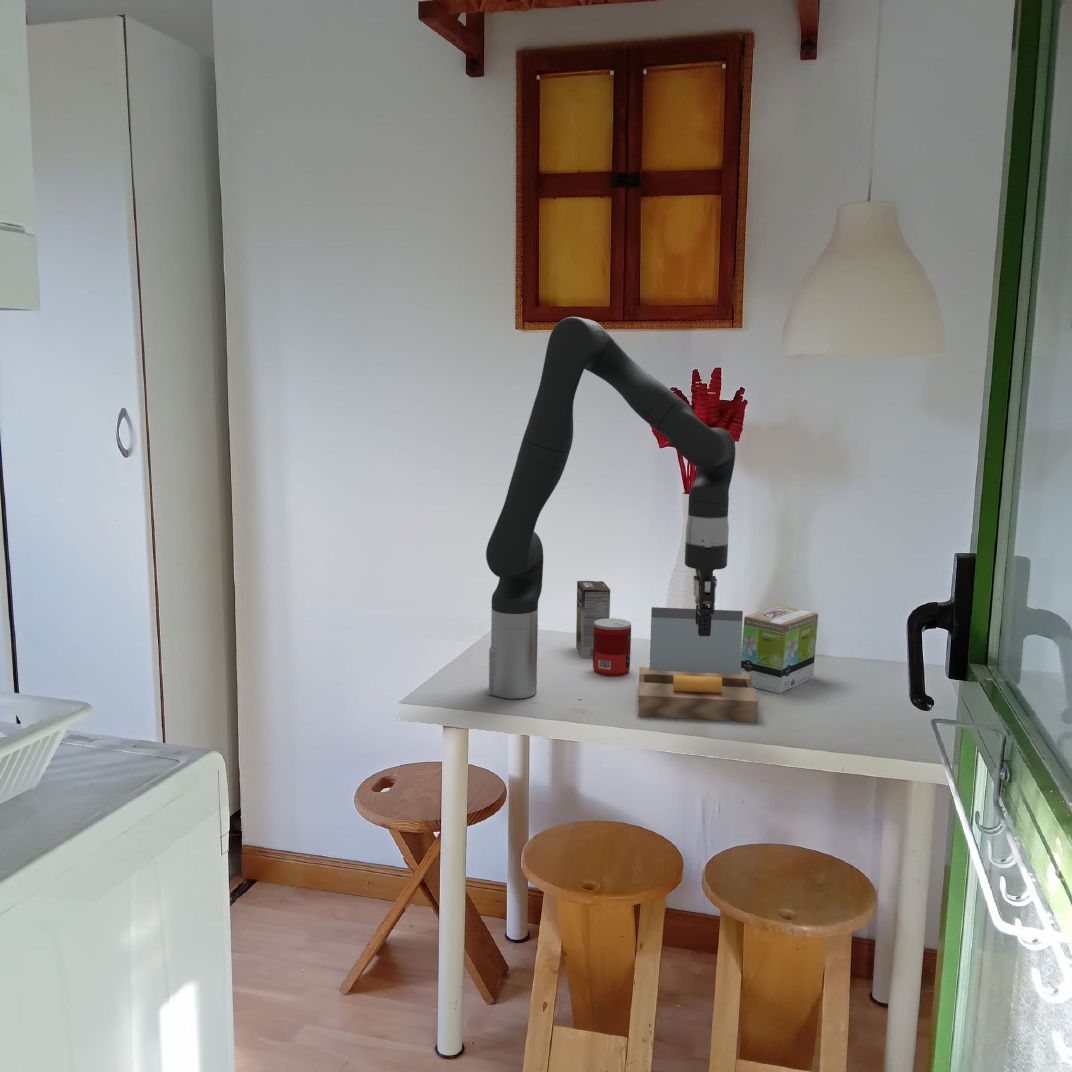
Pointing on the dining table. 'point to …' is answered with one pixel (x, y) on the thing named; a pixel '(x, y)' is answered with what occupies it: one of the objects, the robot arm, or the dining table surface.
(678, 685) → the tall orange dowel
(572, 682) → the dining table surface
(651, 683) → the wooden tray
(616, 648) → the canned food
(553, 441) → the robot arm
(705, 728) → the dining table surface
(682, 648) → the cover
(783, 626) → the tea box
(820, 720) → the dining table surface
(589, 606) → the coffee box
